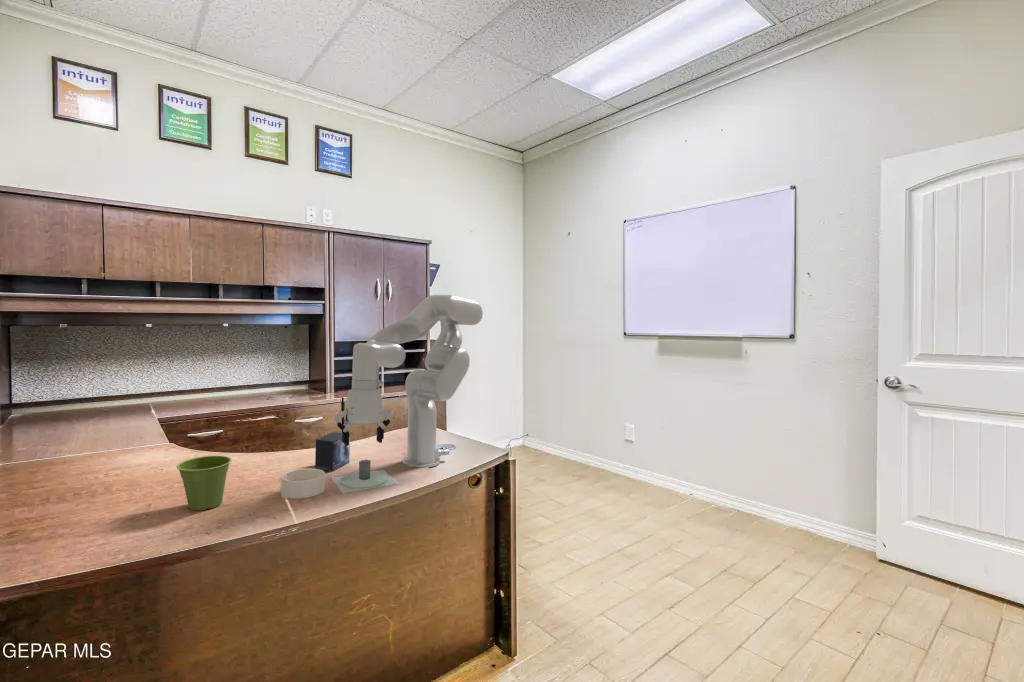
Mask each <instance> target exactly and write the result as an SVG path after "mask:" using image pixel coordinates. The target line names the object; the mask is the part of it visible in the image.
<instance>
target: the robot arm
mask: <svg viewBox="0 0 1024 682" xmlns="http://www.w3.org/2000/svg"><path fill="white" fill-rule="evenodd" d="M483 315H484V312H483V308H482V306H481V304H480V303H479V302H478V301H475V300H472V299H468V298H465V297H460V296H456V295H452V294H431V295H429V296H426V297H425V298H424V299H423V300H422V301H421V302H420V303H419V304H418V305H417V306H416V307H415V308H413V309H412V310H411V311H410V312H409V313H408V314H407V315H406V316H404V317H403V318H402V319H400V320H399V319H398V320H397V321H395V322H393V323H391V324H389V325H387V326H385V327H383V328H381V329H380V330H378V331H377V332H376V333H375V334H374V335H372V336H371V337H370V338H369V339H368V340H367V341H366V342H358V343H356V344H354V345H353V350H352V374H351V378H352V379H351V389H348V391H347V395H346V401H345V410H342V411H341V412H339V413H337V414H335V415H333V417H332V418H333V421H334V423H335V424H336V426H337V427H338V428H339V429H340V430H341V433H342V442H343V443H344V444H345V445H346V446H348V445H349V434H350V431H349V430H350V429H351V428H352V426H361V425H362V426H363V425H375V424H376V425H377V428H376V442H378V443H380V444H382V443H383V440H384V438H385V437H384V436H385V429H386V428H387V427H388V425H389V424H391V421H392V419H393V417H394V413H392V412H390V411H389V410H386V409H384V408H383V397H382V392H381V389H380V387H381V386H384V381H383V380H380V368H382V367H383V368H389V369H394V368H395V369H396V368H397V367H400V366H401V365H403V364H404V363H405V360H406V350H405V348H404V347H402V346H401V345H400V344H404V343H410V342H413V341H416V340H419V339H422V338H423V337H424V336H426V335H427V333H429V332H430V330H432V328H433V327H434V326H435V325H436V324H437V323H438V322H440V333H439V335H438V337H437V339H436V340H435V341H434V343H433V345H432V346H431V348H430V350H429V351H428V352H427V354H426V356H425V358H424V366H425V368H426V369H415V370H412V371H411V372H410V373H408V375H407V377H406V379H405V381H404V382H405V383H404V384H405V386H404V388H405V393H406V398H407V442H406V443H407V447H406V448H407V450H406V451H407V452H406V456H405V457H404V458H402V460H401V461H402V462H401V463H402V464H403V465H404V466H406V467H410V468H411V467H412V468H433V467H436V466H438V465H440V464H441V458H440V457H442V456H448V455H450V451H449V449H448V448H447V449H443V448H437V419H438V416H437V415H438V411H437V406H436V403H435V401H436V402H446V401H448V400H450V399H451V398H452V397H453V396H454V394H455V393H456V392H457V390H458V388H459V386H460V384H461V383H462V382H463V379H464V378H465V376H466V375H467V372H468V370H469V367H470V355H469V352H467V350H465V349H464V348H463V347H461V346H462V343H463V336H462V332H461V329H460V326H459V325H462V326H475V325H477V324H479V323H480V322H481V321H482V318H483ZM383 415H385V416H386V418H385V419H384V420H383ZM343 418H344V421H345V422H344V424H343V423H342V422H341V419H343Z"/></svg>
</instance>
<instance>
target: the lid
mask: <svg viewBox="0 0 1024 682" xmlns="http://www.w3.org/2000/svg"><path fill="white" fill-rule="evenodd" d="M377 471H378V470H371V460H369V459H362V460H359V462H358V471H355V472H351V473H348V474H346V475H343V476H344V477H343V478H342V479H341V483H342V485H344V486H346V487H349V488H358V489H360V488H371V487H376V486H379V485H382V484H384V483H385V482H386V481H387V475H386V474H384V473H382V472H377ZM371 489H372V488H371Z"/></svg>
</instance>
